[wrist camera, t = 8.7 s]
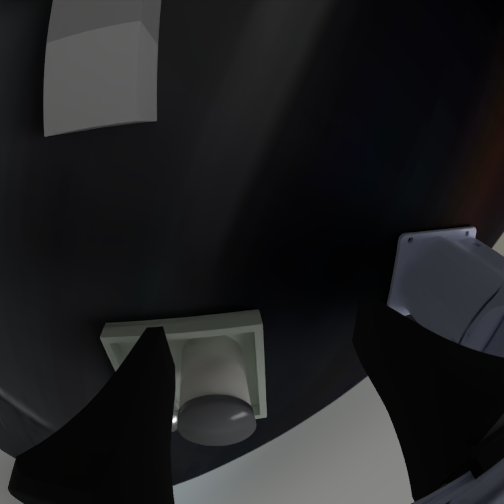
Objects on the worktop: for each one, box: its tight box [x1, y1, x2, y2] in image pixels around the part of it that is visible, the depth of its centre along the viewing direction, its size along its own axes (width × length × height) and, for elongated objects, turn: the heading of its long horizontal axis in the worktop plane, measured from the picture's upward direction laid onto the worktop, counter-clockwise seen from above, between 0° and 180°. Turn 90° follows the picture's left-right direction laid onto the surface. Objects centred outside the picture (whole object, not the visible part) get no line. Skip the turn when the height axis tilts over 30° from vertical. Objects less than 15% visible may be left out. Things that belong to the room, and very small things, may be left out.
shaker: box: [177, 335, 256, 446], centre depth 19 cm, size 5×5×7 cm
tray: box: [100, 309, 267, 419], centre depth 23 cm, size 12×12×2 cm
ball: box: [171, 398, 179, 432], centre depth 23 cm, size 4×4×4 cm
